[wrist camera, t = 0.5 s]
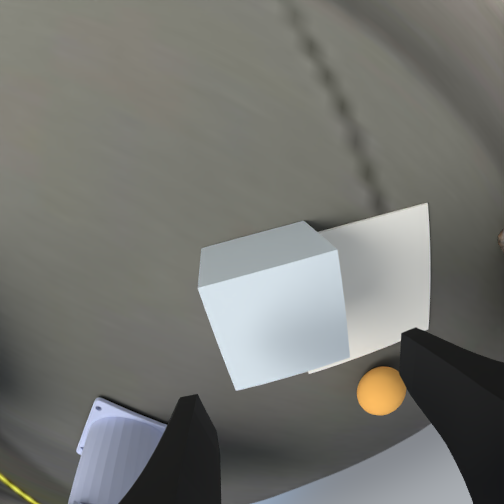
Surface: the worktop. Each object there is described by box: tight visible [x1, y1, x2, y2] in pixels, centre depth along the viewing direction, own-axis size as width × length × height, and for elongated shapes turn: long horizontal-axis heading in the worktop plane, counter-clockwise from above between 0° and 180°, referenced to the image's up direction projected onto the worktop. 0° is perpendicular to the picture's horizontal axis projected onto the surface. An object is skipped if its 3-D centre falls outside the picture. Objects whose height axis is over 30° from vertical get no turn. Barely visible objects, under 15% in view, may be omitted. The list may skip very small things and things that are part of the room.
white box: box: [198, 221, 350, 391], centre depth 16 cm, size 6×6×5 cm
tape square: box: [308, 203, 430, 374], centre depth 20 cm, size 10×10×1 cm
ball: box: [357, 366, 406, 415], centre depth 21 cm, size 4×4×4 cm
